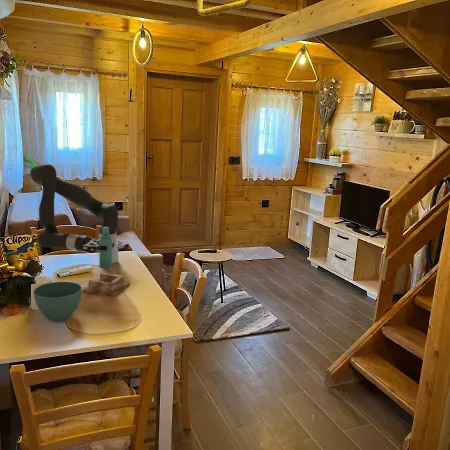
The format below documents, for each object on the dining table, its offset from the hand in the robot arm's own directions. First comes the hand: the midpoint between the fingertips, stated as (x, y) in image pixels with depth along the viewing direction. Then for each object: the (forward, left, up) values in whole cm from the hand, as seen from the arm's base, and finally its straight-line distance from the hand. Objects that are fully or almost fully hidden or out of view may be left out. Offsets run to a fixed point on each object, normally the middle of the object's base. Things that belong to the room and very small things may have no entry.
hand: (110, 246), depth 214 cm
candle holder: (+33, -7, -21) cm, 40 cm away
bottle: (+1, -2, -10) cm, 10 cm away
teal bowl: (+35, +8, -21) cm, 41 cm away
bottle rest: (+1, -2, -21) cm, 21 cm away
